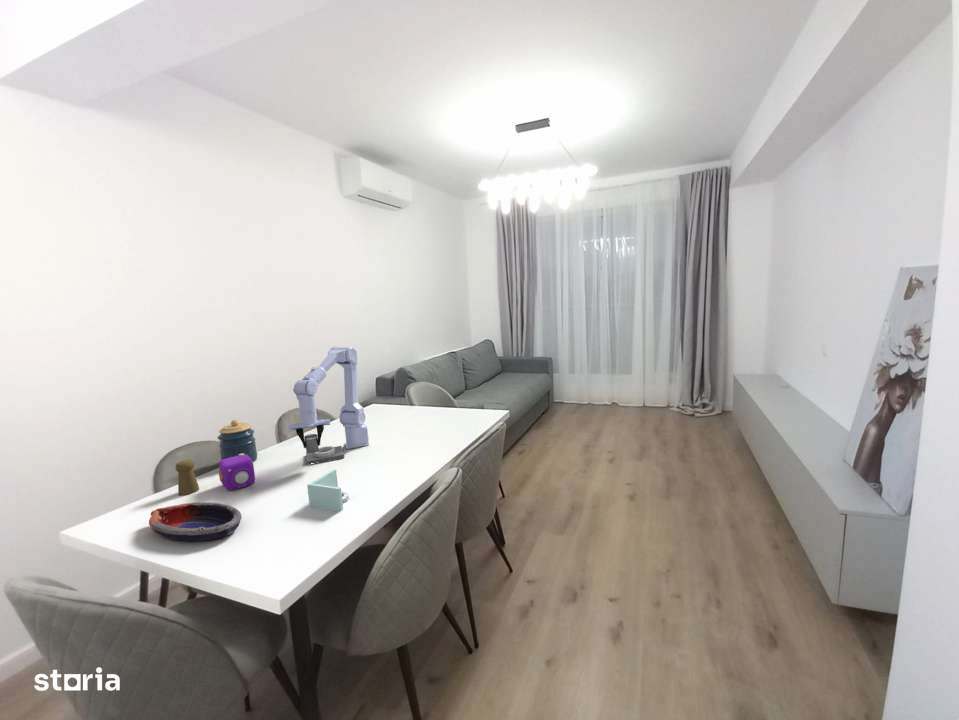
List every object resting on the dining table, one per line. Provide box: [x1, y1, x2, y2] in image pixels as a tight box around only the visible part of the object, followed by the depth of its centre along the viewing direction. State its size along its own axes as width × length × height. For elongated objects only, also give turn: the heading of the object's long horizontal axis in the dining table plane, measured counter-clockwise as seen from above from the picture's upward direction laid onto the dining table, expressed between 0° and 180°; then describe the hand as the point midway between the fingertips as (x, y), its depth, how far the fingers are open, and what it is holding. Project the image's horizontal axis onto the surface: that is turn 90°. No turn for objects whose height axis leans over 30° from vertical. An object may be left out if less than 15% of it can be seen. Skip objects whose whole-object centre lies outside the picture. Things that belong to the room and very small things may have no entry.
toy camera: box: [218, 453, 256, 491], centre depth 144 cm, size 11×14×10 cm
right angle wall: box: [306, 469, 350, 512], centre depth 131 cm, size 12×12×8 cm
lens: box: [304, 433, 320, 453], centre depth 156 cm, size 4×4×6 cm
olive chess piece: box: [175, 459, 200, 497], centre depth 142 cm, size 6×6×11 cm
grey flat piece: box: [305, 445, 345, 465], centre depth 169 cm, size 14×12×3 cm
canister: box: [217, 419, 258, 463], centre depth 167 cm, size 13×13×18 cm
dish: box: [148, 501, 243, 542], centre depth 117 cm, size 16×31×5 cm, turn 70°
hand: (312, 446), depth 157 cm, fingers closed on lens, 4 cm apart
